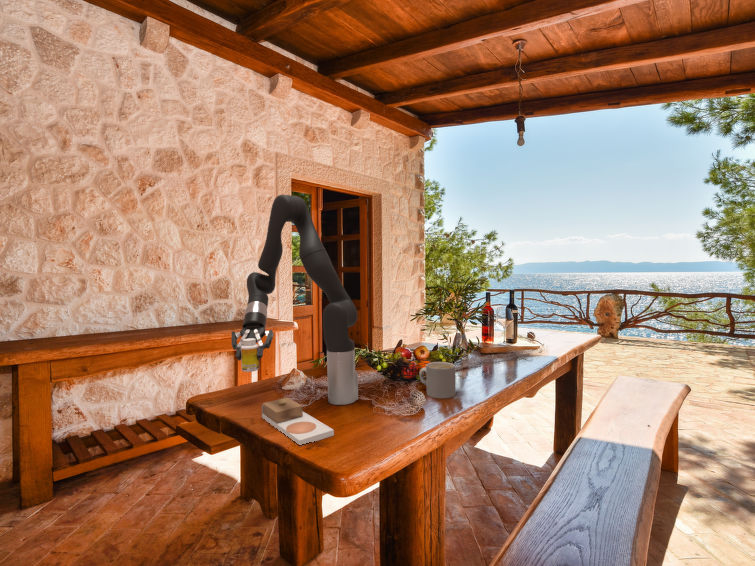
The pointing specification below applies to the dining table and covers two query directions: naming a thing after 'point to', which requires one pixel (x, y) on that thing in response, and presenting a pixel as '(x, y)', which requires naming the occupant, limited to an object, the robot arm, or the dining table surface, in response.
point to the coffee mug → (439, 379)
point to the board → (302, 428)
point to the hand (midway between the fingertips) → (248, 358)
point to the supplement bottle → (249, 355)
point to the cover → (282, 410)
